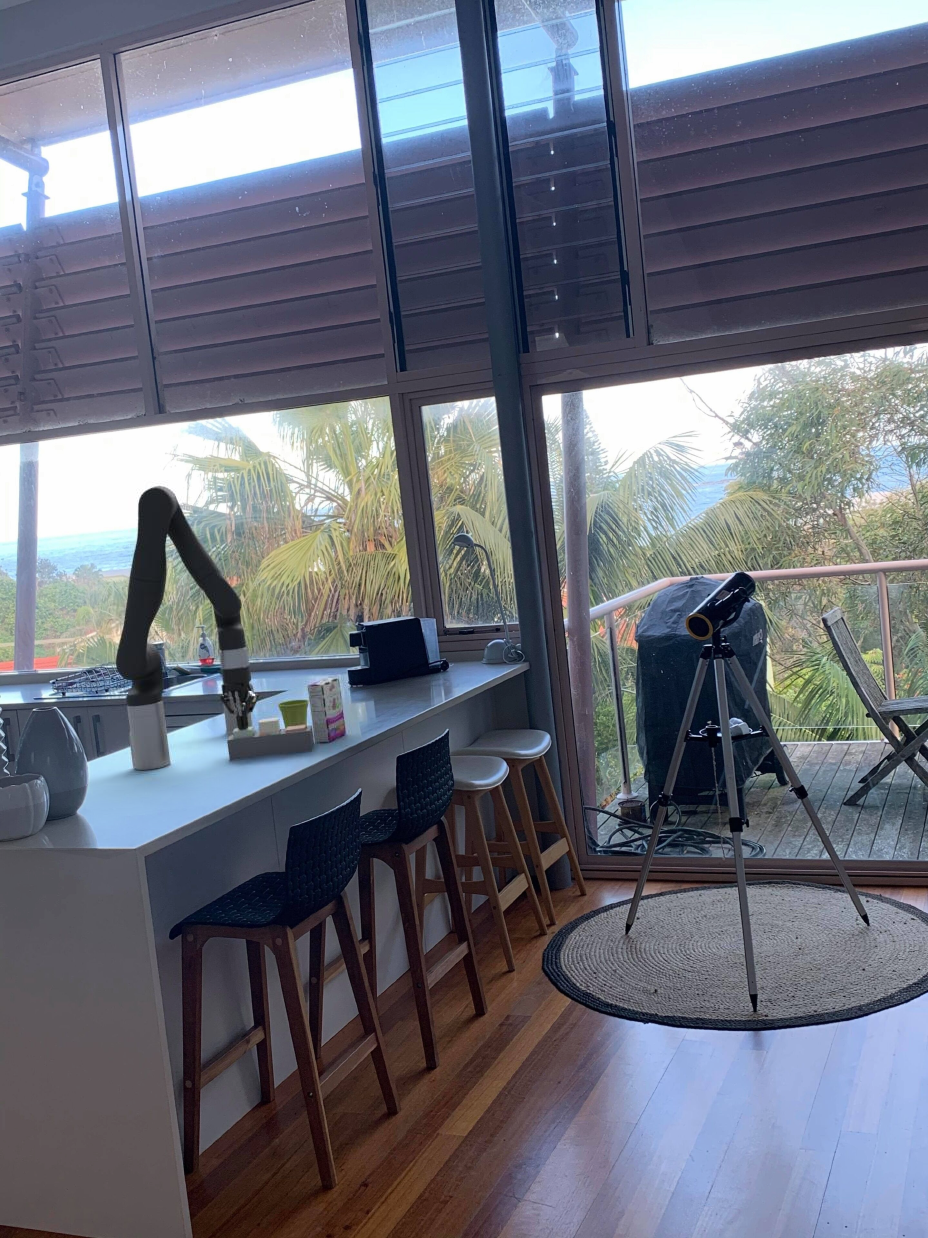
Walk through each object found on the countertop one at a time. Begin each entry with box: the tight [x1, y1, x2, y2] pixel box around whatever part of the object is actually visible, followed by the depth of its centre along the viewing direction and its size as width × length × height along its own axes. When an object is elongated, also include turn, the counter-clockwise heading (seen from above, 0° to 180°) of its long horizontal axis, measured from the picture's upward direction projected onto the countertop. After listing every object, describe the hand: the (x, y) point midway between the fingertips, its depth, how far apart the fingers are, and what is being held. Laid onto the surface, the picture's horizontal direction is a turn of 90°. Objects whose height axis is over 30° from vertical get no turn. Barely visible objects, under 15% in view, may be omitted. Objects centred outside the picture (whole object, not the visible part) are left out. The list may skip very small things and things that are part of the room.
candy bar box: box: [307, 677, 347, 744], centre depth 319 cm, size 11×5×16 cm, turn 161°
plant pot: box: [277, 699, 310, 729], centre depth 338 cm, size 9×9×9 cm
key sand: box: [257, 716, 281, 735], centre depth 307 cm, size 5×5×5 cm
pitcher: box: [221, 682, 255, 736], centre depth 349 cm, size 9×14×15 cm, turn 158°
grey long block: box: [226, 724, 315, 762], centre depth 307 cm, size 22×8×6 cm, turn 94°
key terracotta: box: [286, 725, 306, 733], centre depth 308 cm, size 5×5×5 cm
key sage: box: [233, 725, 255, 739], centre depth 307 cm, size 5×5×5 cm
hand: (243, 729), depth 306 cm, fingers closed
